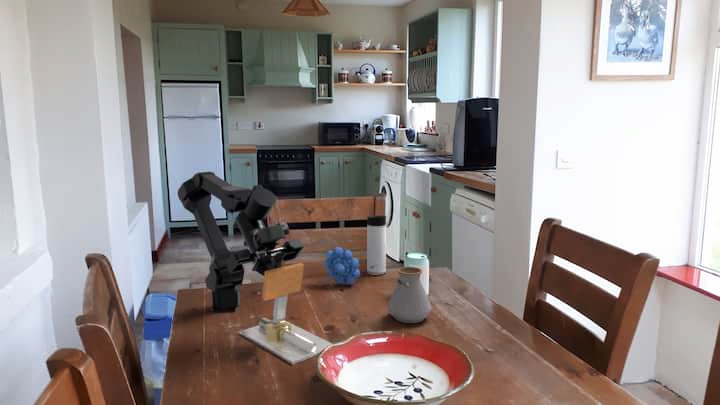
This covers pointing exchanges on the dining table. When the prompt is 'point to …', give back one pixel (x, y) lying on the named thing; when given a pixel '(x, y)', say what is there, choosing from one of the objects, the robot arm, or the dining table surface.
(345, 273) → the blue bumpy rounded lump
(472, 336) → the dining table surface
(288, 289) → the valve lever
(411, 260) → the can
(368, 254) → the travel mug
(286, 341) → the valve body
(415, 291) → the coffee pot
